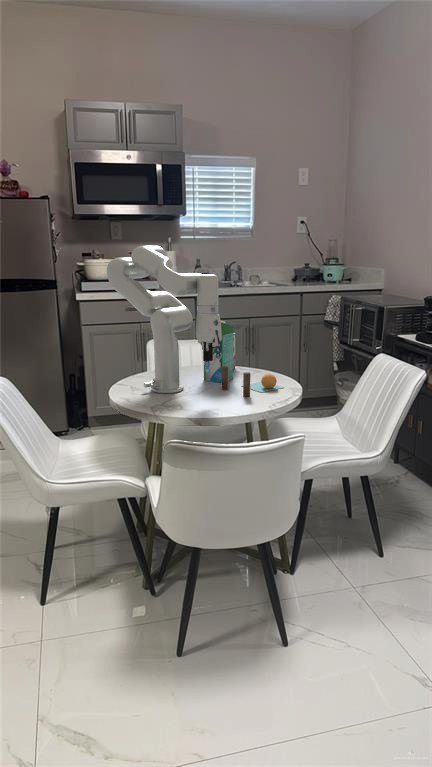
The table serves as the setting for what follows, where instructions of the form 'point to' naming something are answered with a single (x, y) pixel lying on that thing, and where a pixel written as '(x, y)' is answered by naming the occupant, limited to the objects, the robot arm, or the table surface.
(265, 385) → the ball
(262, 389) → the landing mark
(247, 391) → the right post
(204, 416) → the table surface
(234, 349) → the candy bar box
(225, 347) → the milk carton
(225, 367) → the left post
